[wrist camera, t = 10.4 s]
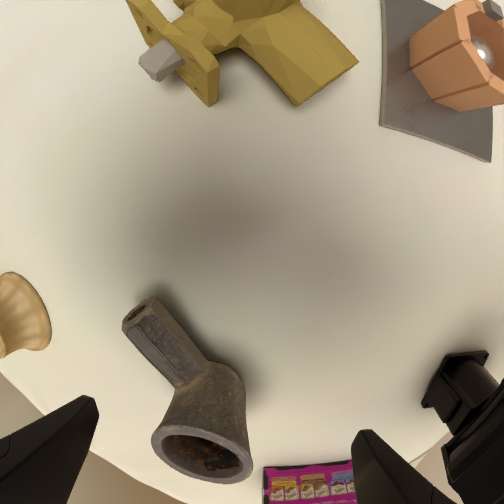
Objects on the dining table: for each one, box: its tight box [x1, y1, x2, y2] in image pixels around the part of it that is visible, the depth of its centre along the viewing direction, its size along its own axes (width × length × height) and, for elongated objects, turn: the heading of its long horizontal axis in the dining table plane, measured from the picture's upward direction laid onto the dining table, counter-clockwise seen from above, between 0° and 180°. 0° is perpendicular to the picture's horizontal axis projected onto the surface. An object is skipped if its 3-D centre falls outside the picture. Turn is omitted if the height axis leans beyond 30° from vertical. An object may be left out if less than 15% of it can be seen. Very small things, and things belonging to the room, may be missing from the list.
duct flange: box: [379, 0, 495, 163], centre depth 12 cm, size 10×12×6 cm
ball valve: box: [126, 0, 359, 107], centre depth 11 cm, size 13×10×10 cm
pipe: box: [122, 297, 253, 484], centre depth 18 cm, size 6×13×8 cm, turn 31°
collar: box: [409, 0, 504, 112], centre depth 11 cm, size 6×6×7 cm
